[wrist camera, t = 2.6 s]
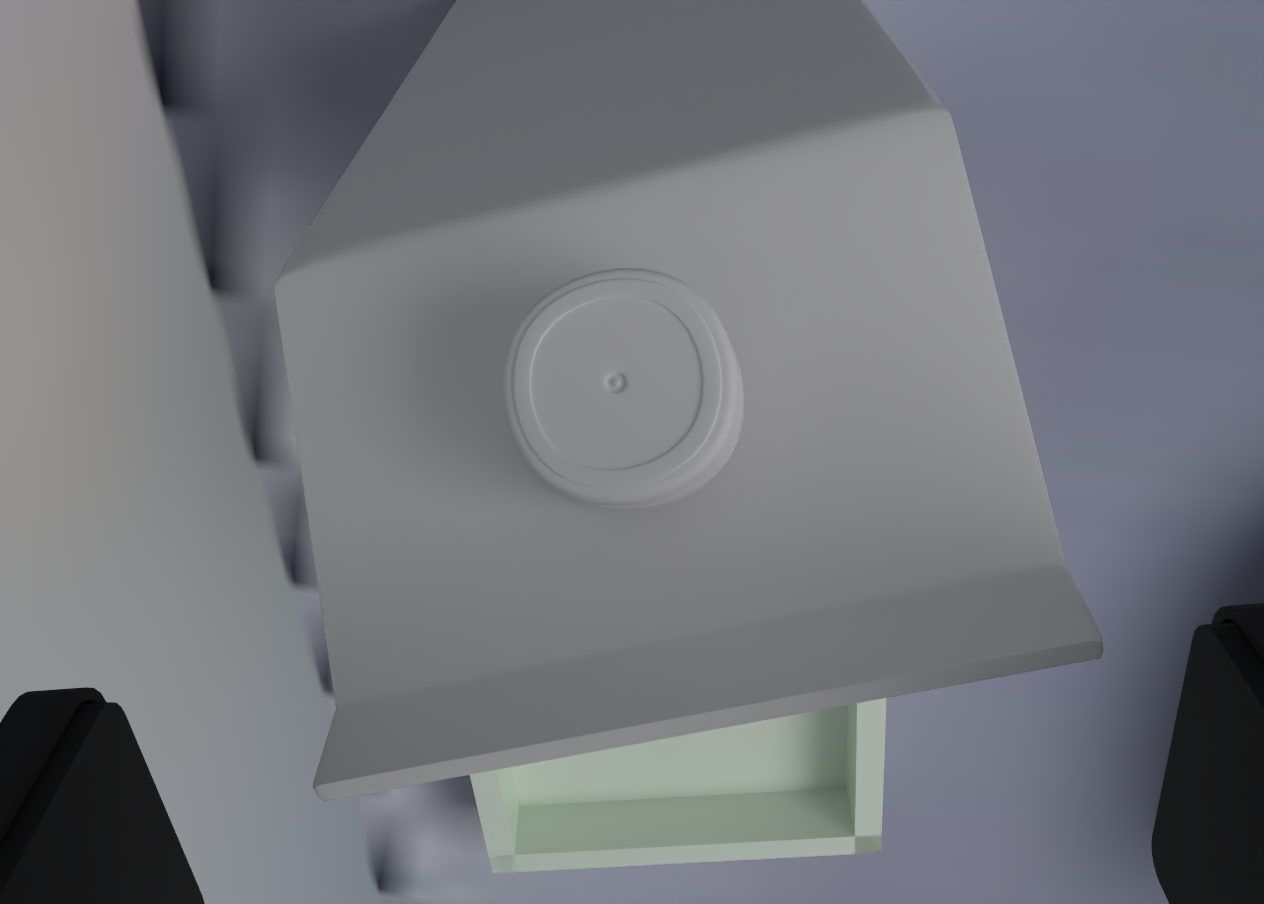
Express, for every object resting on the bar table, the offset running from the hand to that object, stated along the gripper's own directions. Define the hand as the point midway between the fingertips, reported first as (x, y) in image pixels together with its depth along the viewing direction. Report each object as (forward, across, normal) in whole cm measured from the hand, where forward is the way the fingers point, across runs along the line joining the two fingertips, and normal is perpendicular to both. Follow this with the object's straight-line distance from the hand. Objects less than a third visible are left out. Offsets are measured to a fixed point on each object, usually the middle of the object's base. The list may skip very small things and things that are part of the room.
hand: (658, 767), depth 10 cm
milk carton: (+19, 0, -1) cm, 19 cm away
